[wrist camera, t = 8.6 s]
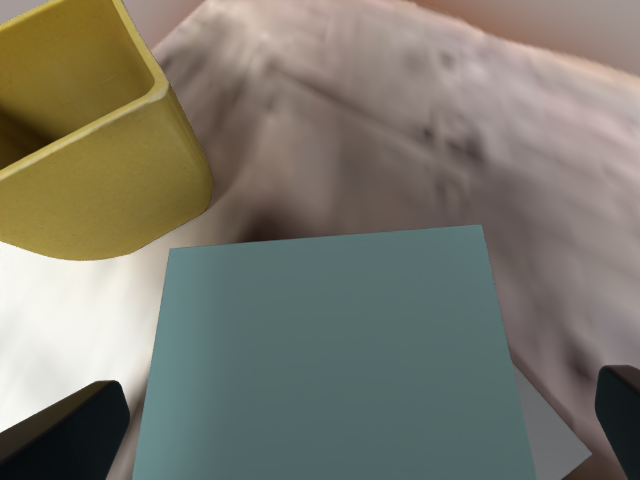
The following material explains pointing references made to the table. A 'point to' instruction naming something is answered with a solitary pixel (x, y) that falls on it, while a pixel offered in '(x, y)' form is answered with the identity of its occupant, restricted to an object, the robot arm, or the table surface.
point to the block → (333, 363)
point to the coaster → (548, 434)
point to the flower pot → (91, 136)
